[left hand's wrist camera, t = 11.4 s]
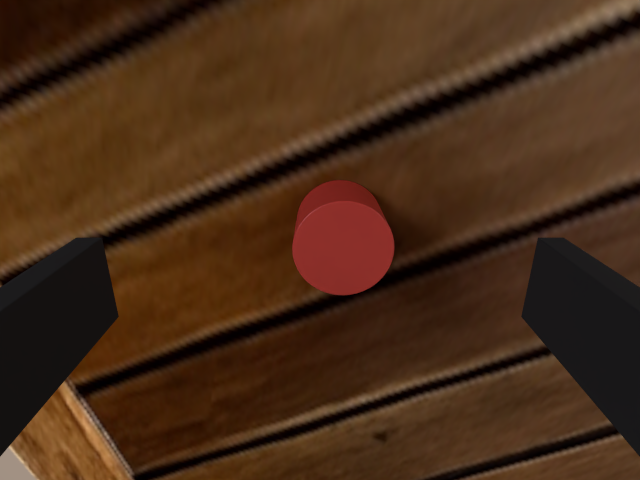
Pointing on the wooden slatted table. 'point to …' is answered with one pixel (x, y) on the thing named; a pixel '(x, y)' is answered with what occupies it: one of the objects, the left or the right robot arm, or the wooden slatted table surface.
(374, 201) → the red cylinder
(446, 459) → the wooden slatted table surface
